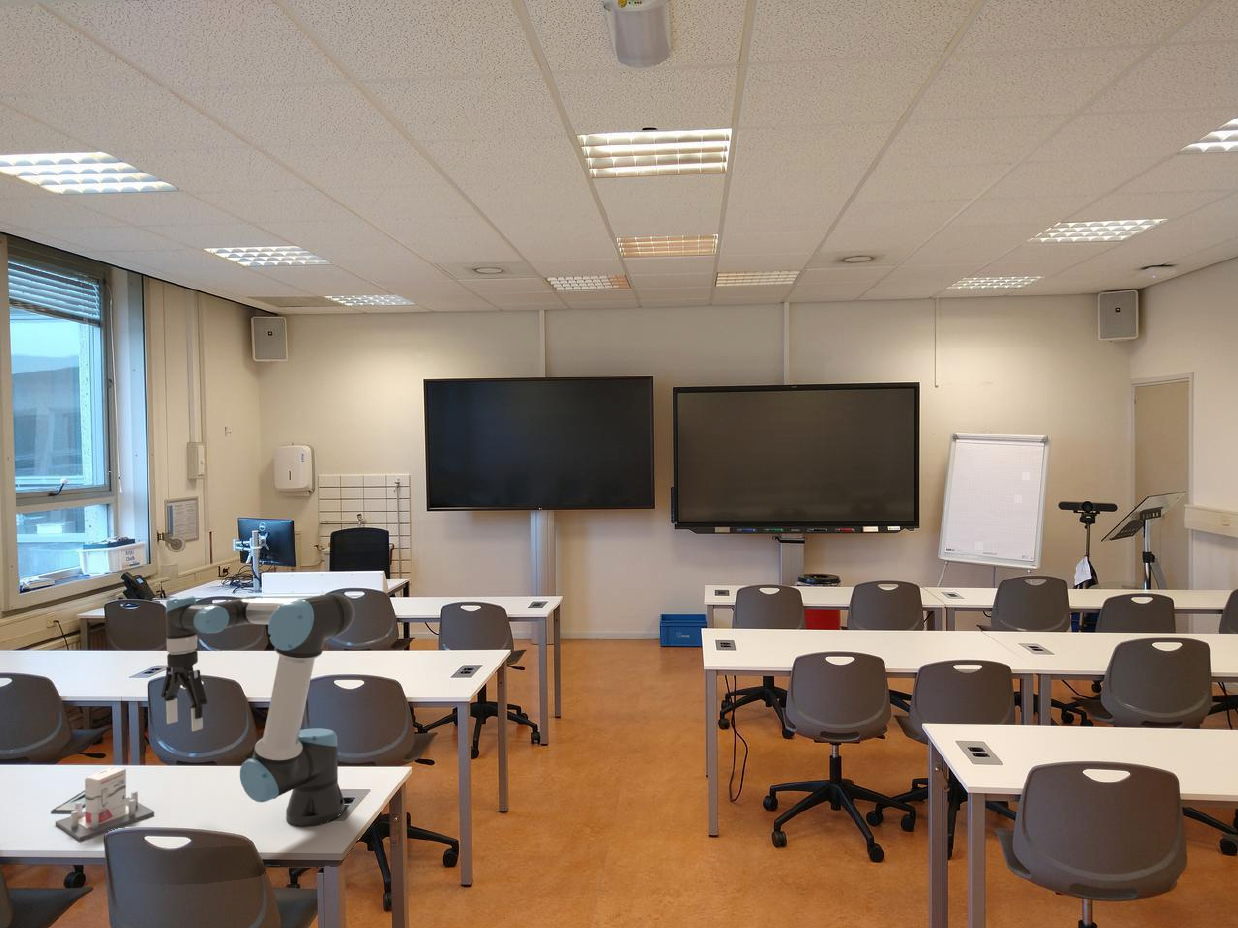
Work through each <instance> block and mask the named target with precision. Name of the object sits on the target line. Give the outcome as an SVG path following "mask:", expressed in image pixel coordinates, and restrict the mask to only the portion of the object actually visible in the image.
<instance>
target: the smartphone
mask: <svg viewBox="0 0 1238 928" xmlns="http://www.w3.org/2000/svg"><path fill="white" fill-rule="evenodd" d="M77 802H82V809H84V808H86V806H85V789H84V790H83V791H81V792H80V793H78V794H76V795H75V796H73V797H71V798H70V799H68V800H67V801H65V802H63V803H61V804H60V805H59V806H57V807H56V808H54V809H52V810H51V811H50V813H51V814H71V812H72V811H75V803H77Z"/></svg>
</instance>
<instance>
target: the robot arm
mask: <svg viewBox="0 0 1238 928" xmlns="http://www.w3.org/2000/svg"><path fill="white" fill-rule="evenodd" d="M354 607H355V606H354V605H353V603H352V601H351V600H350V599H349V598H348V597H346V595H344V594H341V593H334V592H333V593H332V592H331V593H326V594H319V595H316V596H311V597H305V598H304V597H295V598H294V597H283V598H282V597H263V596H261V595H254V596H253V595H252V596H246V597H242V598H239V599H238V598H237V599H233V600H227V601H221V602H215V603H209V604H197V598H196V597H195V596H193V595H182V596H174V597H170V598H169V599H167V600H166V603H165V625H166V626H165V627H166V629H165V630H166V652H167V653H168V654H167V655H166V656H167V657H166V658H167V666H166V667H165V668H166V669H165V671H166V672H165V678H164V682H163V687H162V690H161V695H160V696H161V698H164V701H165V707H166V711H165V713H166V725H170V724H173V723H176V722H177V723H178V722H179V717H178V714H179V713H178V711H179V710H178V695H177V694H178V692H179V690H180V689H181V686H182V688H183V689H185V692H186V693H187V695H188V698H189V700H190V702H191V704H192V705H191V706H190V713H191V716H190V718H191V721H190V722H191V732H196V731H199V730H202V729H204V722H203V721H204V720H203V718H204V716H203V714H204V713H203V706H204V705H207V704H208V699H207V695H206V691H205V688H204V684H203V681H202V678H201V677H202V676H201V670H200V669H195V670H194V665H196V664H198V662H199V658H198V656H199V654H198V650H197V648H198V639H199V637H198V633H202V634H206V635H210V634H218V633H220V632H222V631H224V630H225V629H227V628H228V629H229V628H231V627H232V628H233V627H237V626H242V625H267V633H268V635H270V637H268V638H269V640H270V643H271V644H272V646H273V647H274V652H276V654H277V655H278V660H277V666H276V671H275V675H274V680H273V681H274V682H273V687H272V689H271V690H272V692H271V697H270V701H269V707H268V711H267V718H266V721H265V728H264V731H263V736H262V737H261V739H259V740H257V742H256V743H255V745H254V750H253V755H252V756H251V757H250V758H247V759H246V760H245V761H244V762H242V764H241V766H240V768H239V780H240V781H239V782H240V785H241V786H242V788H243V790H244V792H245V794H246V795H247V796H248V797H249V798H250V799H251V800H253V801H255V802H256V803H266V802H268V801H271V800H274V799H277V798H279V797H280V796H282V795H284V794H286V793H288V792H290V791H291V795H290V797H289V801H288V804H287V807H286V813H285V818H286V819H285V821H286V822H287V823H289V824H290V825H293V826H297V825H300V826H299V827H309V826H310V825H313V826H318V825H317V824H319V825H322V824H321V823H323V824H326V823H328V822H327V821H329V822H331V821H330V820H332V819H334V818H335V817H337V816H338V815H339V814H341V813H342V812H343V810H344V811H345V799H344V797H343V794H342V791H341V787H340V785H339V781H338V779H339V778H338V776H339V775H338V773H339V771H338V770H339V769H338V767H339V766H338V764H339V762H338V761H339V759H338V755H339V753H338V752H339V744H338V736H337V733H336V732H335V731H334V730H332V729H328V728H320V727H319V728H306V729H305V728H304V729H301V727H302V723H303V719H304V713H305V707H306V703H307V699H308V693H309V689H310V683H311V679H312V674H313V669H314V666H315V665H314V663H315V661H316V659H317V658H318V657H320V656H321V655H322V654H323V651H324V645H325V642H326V640H329V639H332V638H336V637H338V636H340V635H343V634H344V633H345V632H347V631H348V630H349V628H350V627H351V625H352V624H353V622H354V619H355V609H354ZM343 813H344V812H343ZM343 813H342V814H343ZM342 814H341V815H342ZM337 818H338V817H337ZM334 820H335V819H334ZM332 821H333V820H332ZM325 822H326V823H325ZM310 827H311V826H310Z"/></svg>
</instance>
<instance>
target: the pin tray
mask: <svg viewBox="0 0 1238 928" xmlns="http://www.w3.org/2000/svg"><path fill="white" fill-rule="evenodd" d="M138 798H139V792H138V791H137V790H134V791H131V793H130V797H126V810H125V811H123V812H121V813H119V814H117V815H115V816H112V817H110V818H108V819H106V820H104V821H102V822H100V823H99V812H93V813H91V822H87V821H86V810H85V811H83V808H82V802H77V803H75V811H72V812H71V813H70V816H68V817H65V818H60V819H58V820H56V821H55V826H56V827H58V828H59V829H61V830H62V831H64V832H66V833H67V834H68V835H69V836H71V837H72V838H74V839H75V840H77V841H78V842H82V841H85V840H87V839H91V838H93V837H95V836H100V835H102V834H104V833H108V832H109V831H108V830H110V831H112V830H111V829H113V830H115V829H114V828H116V829H119V828H121V827H124V826H127V825H130V824H133V823H136V822H138V821H141V820H144V819H146V818H149V817H152V816H154V815H155V811H154V810H153V809H150V808H149V807H146V806H145V805H143V804H142V803H140V802H139V799H138ZM107 831H108V832H107Z"/></svg>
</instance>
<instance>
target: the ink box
mask: <svg viewBox="0 0 1238 928" xmlns="http://www.w3.org/2000/svg"><path fill="white" fill-rule="evenodd" d="M126 771H127V769H126V768H123V767H122V768H121V767H116V766H111V767H108V768H106V769H103V770H100V771H98V772H95V773H93V774H91V775H89V776H86V778H85V779H84V786H85V787H84V788H85V789H84V790H85V806H86V807H85V811H86V821H87V822H91V813H93V812H99V823H100V822H102V821H104V820H106V819H108V818H110V817H112V816H115V815H117V814H119V813H121V812H123V811H125V810H126V798H127V795H126V794H127V787H126V786H127V785H126V784H127V779H126V778H127V776H126V775H127V772H126Z"/></svg>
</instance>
